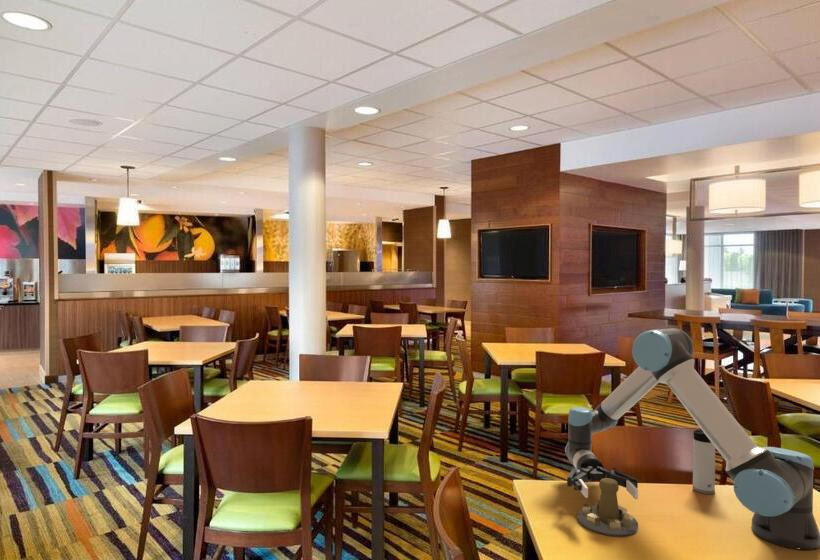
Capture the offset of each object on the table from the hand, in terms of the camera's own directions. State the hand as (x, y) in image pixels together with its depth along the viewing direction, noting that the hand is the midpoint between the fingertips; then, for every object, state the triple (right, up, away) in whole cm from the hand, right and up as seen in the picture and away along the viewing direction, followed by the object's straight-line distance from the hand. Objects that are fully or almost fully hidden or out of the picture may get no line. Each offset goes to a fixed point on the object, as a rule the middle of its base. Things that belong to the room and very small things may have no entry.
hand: (611, 493), depth 142 cm
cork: (+1, -9, +3) cm, 9 cm away
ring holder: (0, -9, +3) cm, 10 cm away
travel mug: (+41, -10, +26) cm, 49 cm away
